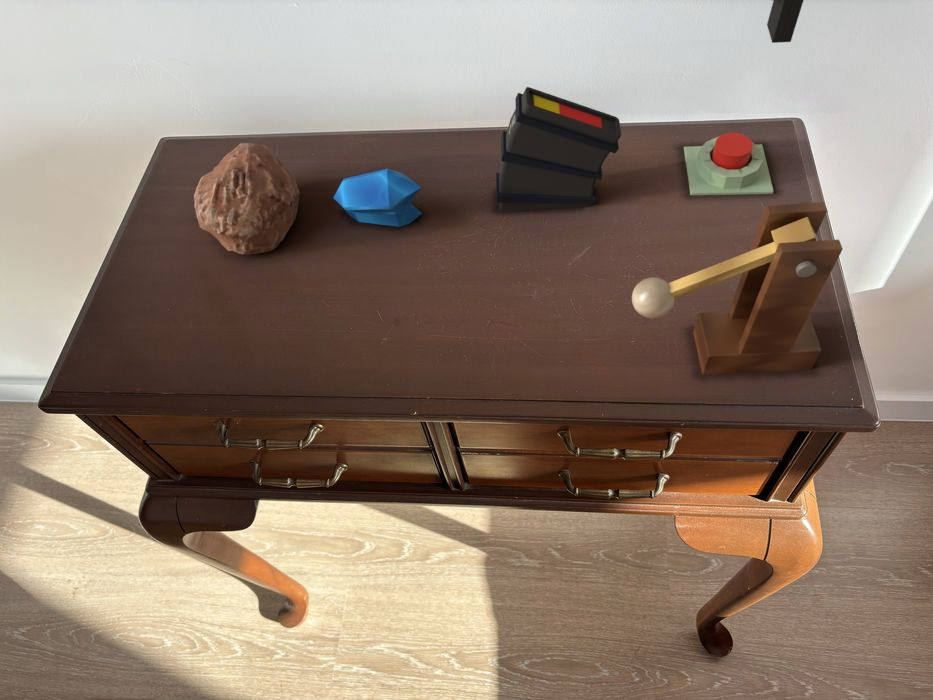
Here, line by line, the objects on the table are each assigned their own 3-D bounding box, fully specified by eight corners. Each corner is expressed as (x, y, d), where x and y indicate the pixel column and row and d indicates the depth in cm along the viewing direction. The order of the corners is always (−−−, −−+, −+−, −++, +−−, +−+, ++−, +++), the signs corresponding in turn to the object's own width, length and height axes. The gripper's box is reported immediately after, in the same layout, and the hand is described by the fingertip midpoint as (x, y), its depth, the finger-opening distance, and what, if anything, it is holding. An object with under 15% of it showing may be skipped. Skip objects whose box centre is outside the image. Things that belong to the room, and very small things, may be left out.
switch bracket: (701, 383, 66) (744, 259, 52) (690, 332, 70) (728, 202, 55) (809, 378, 66) (884, 251, 51) (793, 327, 69) (859, 194, 54)
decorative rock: (258, 181, 89) (229, 116, 81) (330, 204, 85) (306, 138, 77) (193, 252, 83) (154, 190, 75) (267, 280, 79) (234, 218, 71)
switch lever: (645, 331, 61) (627, 311, 59) (639, 299, 63) (622, 278, 61) (827, 265, 54) (815, 239, 52) (814, 231, 56) (803, 205, 54)
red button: (745, 146, 80) (749, 131, 79) (751, 170, 78) (755, 155, 76) (710, 147, 81) (713, 133, 79) (714, 170, 79) (717, 156, 77)
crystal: (328, 153, 80) (422, 139, 76) (361, 207, 87) (449, 197, 82) (308, 198, 76) (405, 186, 72) (343, 251, 83) (435, 243, 78)
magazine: (471, 186, 82) (522, 83, 71) (571, 216, 86) (635, 121, 74) (470, 209, 80) (523, 106, 68) (573, 238, 84) (640, 144, 72)
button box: (759, 152, 83) (766, 131, 81) (771, 199, 79) (778, 179, 76) (682, 154, 84) (686, 134, 82) (689, 200, 80) (693, 181, 77)
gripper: (990, -381, 41) (849, 4, 61) (761, -355, 43) (695, 12, 62) (1039, -346, 37) (870, 55, 56) (783, -319, 39) (704, 62, 58)
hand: (778, 32), depth 59 cm, fingers closed
